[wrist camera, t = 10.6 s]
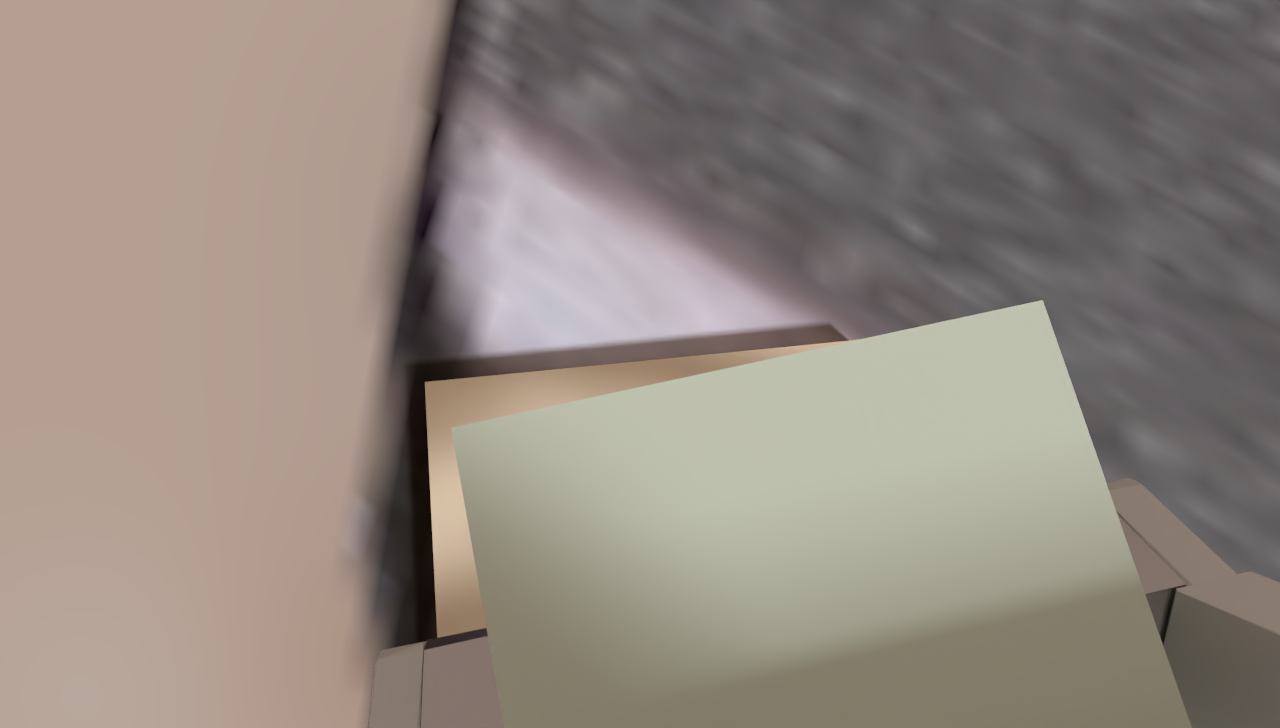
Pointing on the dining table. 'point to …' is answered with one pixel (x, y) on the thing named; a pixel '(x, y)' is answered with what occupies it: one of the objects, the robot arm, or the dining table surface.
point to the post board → (511, 396)
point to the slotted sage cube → (817, 546)
